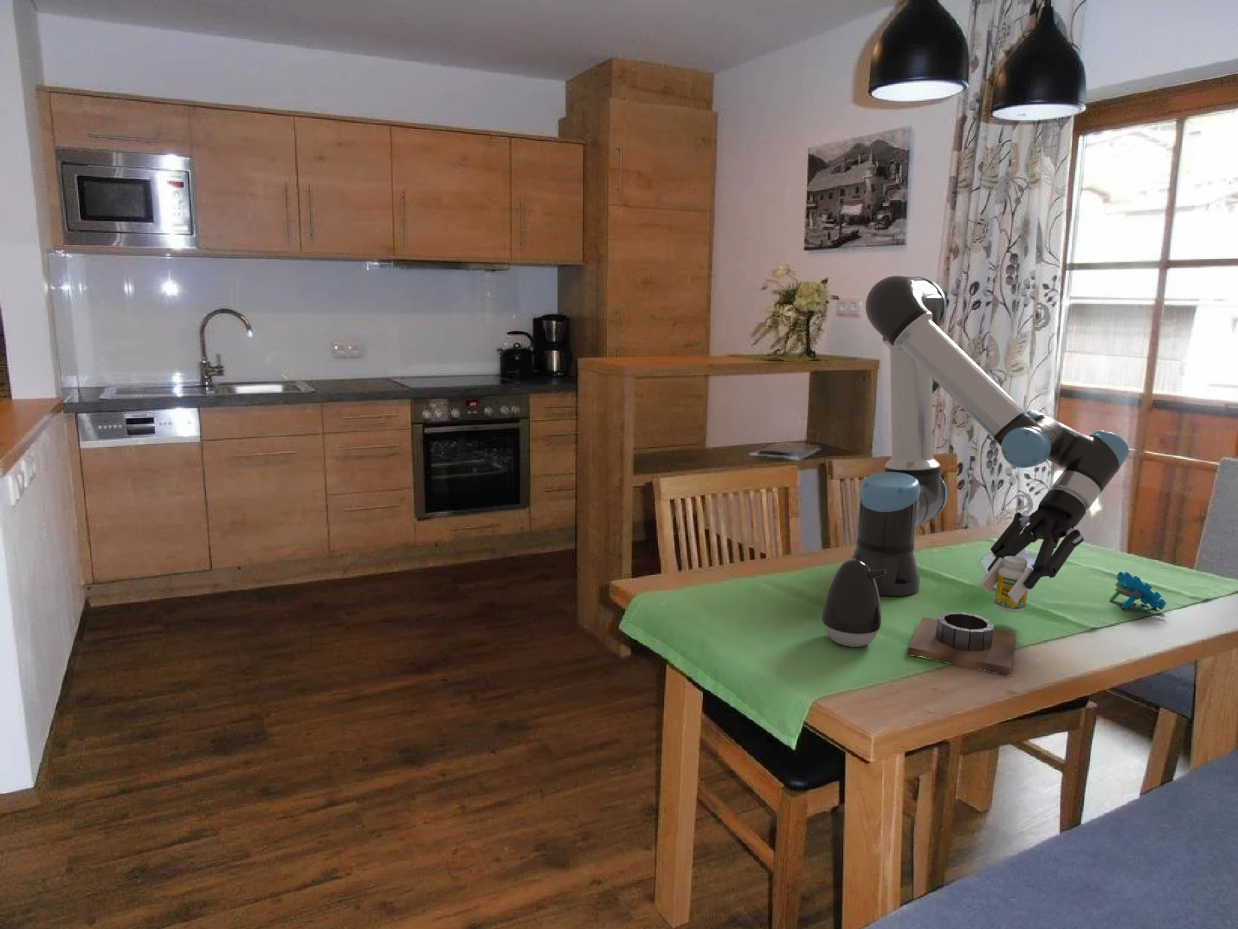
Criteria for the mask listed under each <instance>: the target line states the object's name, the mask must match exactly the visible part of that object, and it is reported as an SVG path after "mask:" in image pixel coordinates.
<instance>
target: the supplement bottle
mask: <svg viewBox="0 0 1238 929" xmlns="http://www.w3.org/2000/svg"><path fill="white" fill-rule="evenodd" d="M1003 564H1004V567H1001V568H1000V569H999V571H998V578H997V583H996V588H995V595H994V602H993V603H994V606H995V607H996V608H997V609H1000V610H1002V611H1005V612H1009V613H1022V612H1023V611H1025V609H1026V606H1027V599H1028V598H1027V597H1028V591H1029V589H1027V591H1026V592H1025V593H1024V595H1023V596H1022V597H1021V599H1020V600H1019V601H1018V603H1017V604H1015V603H1013V602H1012V600H1011V599H1010V597H1009V596H1008V593H1009V591H1010V590H1011V589H1012V587H1013V586H1014V585H1015V583H1016V582H1017V581H1018V579H1019V578H1020V577H1021V575H1022V574H1023V573H1024V571H1025V570H1026V569H1027V567H1028V559H1026V558H1024V557H1020V556H1017V555H1016V556H1006V557H1004V561H1003Z"/></svg>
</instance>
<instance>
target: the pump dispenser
mask: <svg viewBox="0 0 1238 929" xmlns="http://www.w3.org/2000/svg"><path fill="white" fill-rule="evenodd" d="M883 575H886V570H885V569H880V570H872V571H871V570H870V568H869V567H868V565H867V564H866V563H865V562H863V561H861V560H858V559H851V558H850V559H847V560H845V561H844V562H843V563H841V565H840V566H839V567H838V569H836V572H835V573H834V576H833V577H832V579H831V581H830V583H829V586H828V589H827V591H826V594H825V598H824V601H823V606H822V611H821V612H822V613H821V622H822V623H823V628H824V630H825V633H826V635H827V636H828V638H830V639H831V640H832V641H834V643H837V644H838V645H840V644H841V646H843V645H844V646H843V647H847V646H849V647H848V648H859V647H864V646H866V645H868V644H870V643H872V642H873V640H874V639H875V638H876V636H877V635H878V632H879V630H880V629H881V627H882V607H881V606H882V605H881V598H880V595H879V592H878V588H877V585H876V581H875V579H874V578H876V577H880V576H883Z"/></svg>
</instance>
